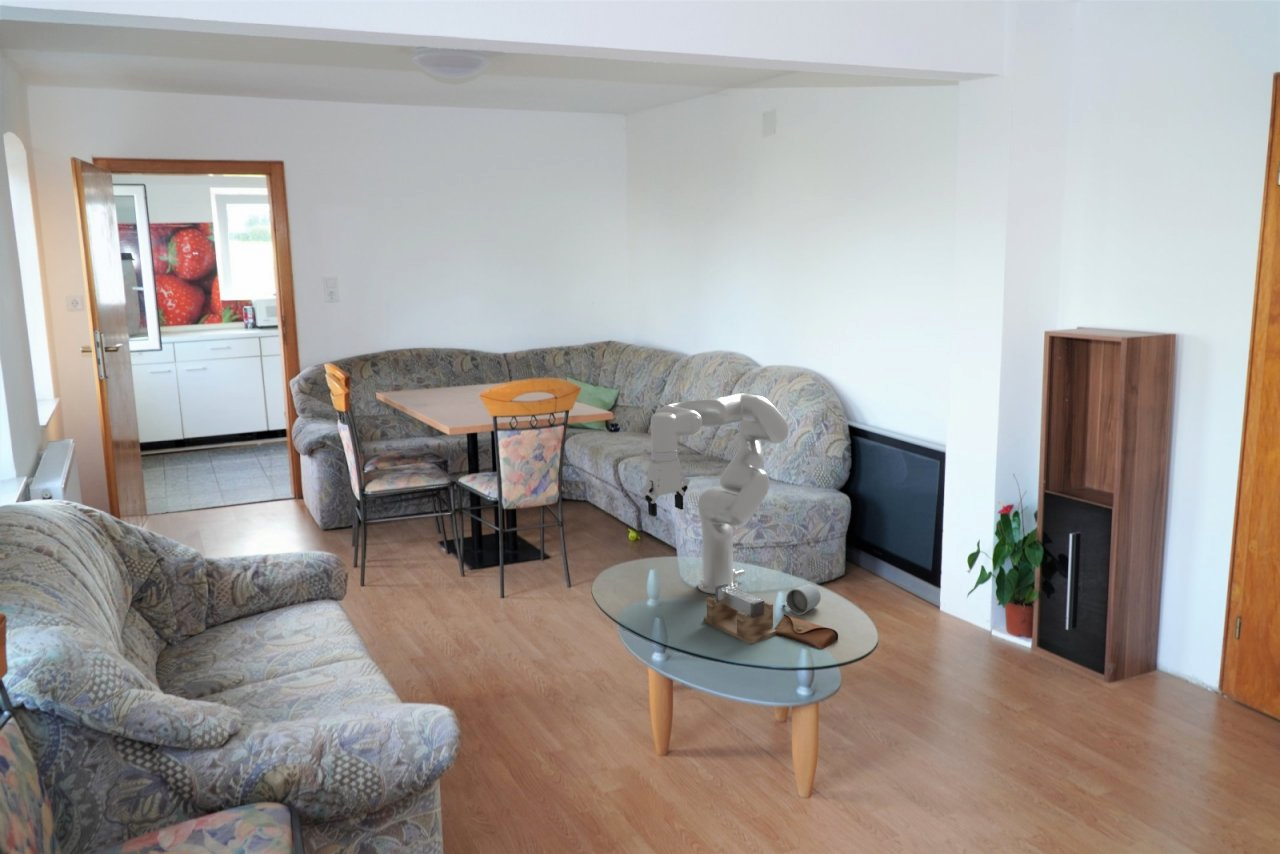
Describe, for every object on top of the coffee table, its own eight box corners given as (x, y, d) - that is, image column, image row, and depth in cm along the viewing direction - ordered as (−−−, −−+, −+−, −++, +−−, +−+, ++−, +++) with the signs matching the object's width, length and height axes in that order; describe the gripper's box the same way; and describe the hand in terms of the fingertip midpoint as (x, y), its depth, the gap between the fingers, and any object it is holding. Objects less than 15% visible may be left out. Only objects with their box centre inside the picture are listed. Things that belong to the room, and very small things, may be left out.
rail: (726, 597, 297) (726, 583, 296) (764, 614, 285) (764, 600, 284) (715, 600, 295) (715, 587, 294) (753, 618, 282) (753, 604, 281)
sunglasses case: (767, 633, 287) (774, 610, 288) (779, 637, 292) (785, 615, 293) (822, 650, 275) (829, 626, 276) (834, 654, 280) (841, 631, 282)
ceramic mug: (822, 608, 302) (822, 583, 301) (807, 617, 296) (807, 592, 295) (791, 600, 309) (791, 576, 308) (777, 609, 303) (776, 585, 302)
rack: (731, 611, 302) (731, 585, 300) (778, 633, 286) (778, 606, 284) (701, 621, 296) (701, 595, 294) (748, 645, 280) (748, 617, 278)
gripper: (679, 447, 303) (681, 503, 307) (632, 458, 293) (634, 515, 297) (696, 452, 297) (697, 508, 301) (648, 463, 287) (650, 521, 291)
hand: (666, 511), depth 299 cm, fingers open, 9 cm apart
